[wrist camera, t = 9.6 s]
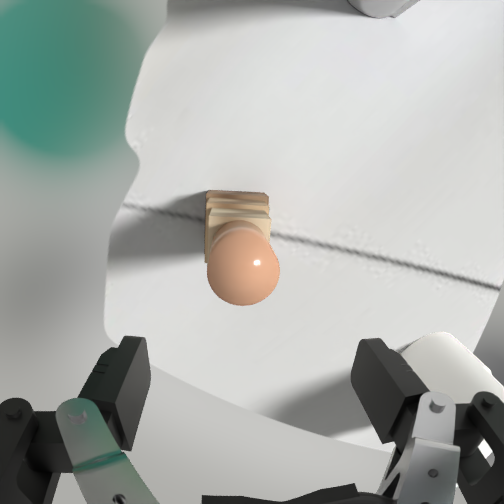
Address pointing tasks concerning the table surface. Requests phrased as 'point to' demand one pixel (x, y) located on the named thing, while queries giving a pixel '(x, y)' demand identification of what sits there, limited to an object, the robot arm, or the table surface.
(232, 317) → the table surface
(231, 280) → the cylinder
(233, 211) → the tower top
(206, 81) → the table surface
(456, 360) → the cylinder
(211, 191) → the tower base
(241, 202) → the tower mid
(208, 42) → the table surface
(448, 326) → the table surface
